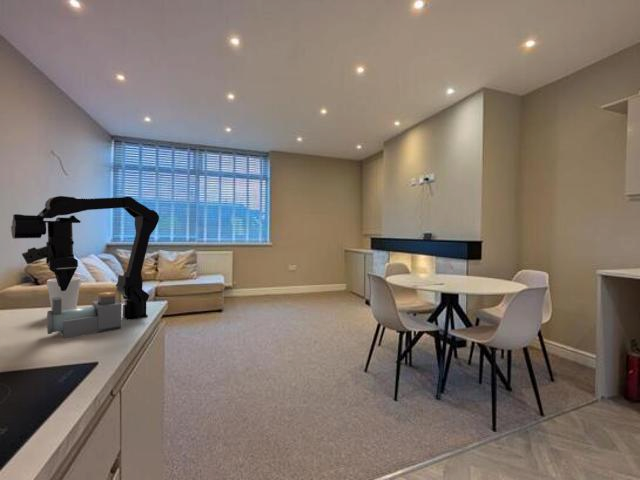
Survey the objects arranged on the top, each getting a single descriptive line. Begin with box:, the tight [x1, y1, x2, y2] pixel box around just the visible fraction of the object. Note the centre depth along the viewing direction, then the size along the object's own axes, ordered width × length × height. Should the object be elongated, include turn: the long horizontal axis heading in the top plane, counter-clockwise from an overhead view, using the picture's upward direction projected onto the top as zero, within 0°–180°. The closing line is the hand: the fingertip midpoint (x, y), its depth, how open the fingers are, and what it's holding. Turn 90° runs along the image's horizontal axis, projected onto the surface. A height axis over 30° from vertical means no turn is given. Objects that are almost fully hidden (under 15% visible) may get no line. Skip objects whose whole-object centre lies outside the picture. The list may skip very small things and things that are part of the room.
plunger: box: [97, 291, 116, 305], centre depth 97 cm, size 5×5×4 cm
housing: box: [59, 299, 122, 340], centre depth 94 cm, size 14×10×8 cm
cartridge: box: [46, 297, 96, 335], centre depth 91 cm, size 11×7×10 cm, turn 136°
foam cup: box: [46, 276, 82, 310], centre depth 110 cm, size 10×9×13 cm
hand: (62, 288), depth 92 cm, fingers open, 9 cm apart
